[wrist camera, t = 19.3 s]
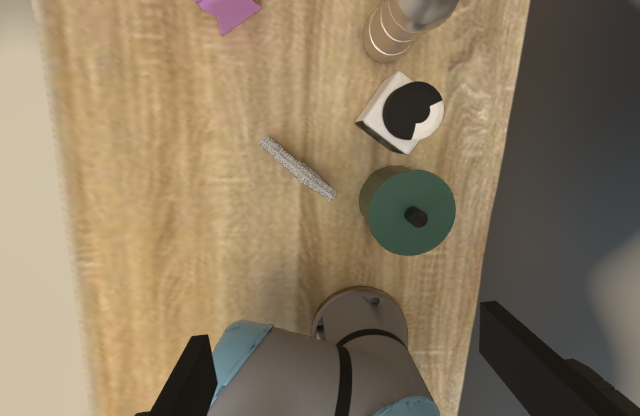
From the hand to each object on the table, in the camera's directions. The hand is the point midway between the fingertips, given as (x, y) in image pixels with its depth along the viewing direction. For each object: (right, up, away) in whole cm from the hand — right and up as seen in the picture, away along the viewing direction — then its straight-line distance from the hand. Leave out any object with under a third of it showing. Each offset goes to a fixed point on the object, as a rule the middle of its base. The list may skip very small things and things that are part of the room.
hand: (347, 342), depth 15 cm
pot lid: (+10, +6, +24) cm, 27 cm away
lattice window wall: (-4, +13, +31) cm, 33 cm away
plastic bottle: (+7, +29, +27) cm, 41 cm away
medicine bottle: (+8, +19, +30) cm, 36 cm away
